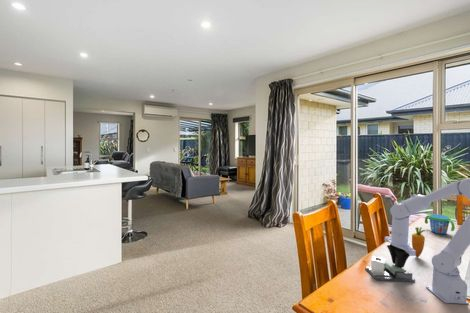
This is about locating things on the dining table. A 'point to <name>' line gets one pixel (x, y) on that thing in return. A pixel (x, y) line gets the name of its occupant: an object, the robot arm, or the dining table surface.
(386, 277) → the press
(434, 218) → the snack cup
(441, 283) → the robot arm
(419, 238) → the carrot
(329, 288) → the dining table surface
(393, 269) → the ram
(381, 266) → the block
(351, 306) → the dining table surface
